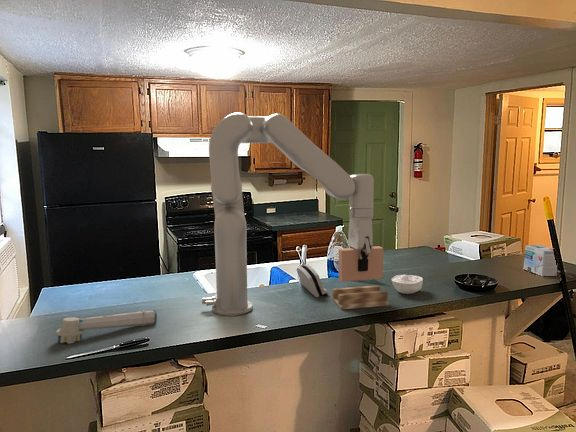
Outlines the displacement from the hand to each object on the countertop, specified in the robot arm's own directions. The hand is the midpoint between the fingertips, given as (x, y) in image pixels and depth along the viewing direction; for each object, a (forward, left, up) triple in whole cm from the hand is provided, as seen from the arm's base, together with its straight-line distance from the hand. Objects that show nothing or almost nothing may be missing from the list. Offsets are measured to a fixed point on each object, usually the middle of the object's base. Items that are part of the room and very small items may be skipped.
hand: (360, 269), depth 140 cm
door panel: (0, 0, -3) cm, 3 cm away
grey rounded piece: (-12, +16, -12) cm, 23 cm away
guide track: (0, 0, -11) cm, 11 cm away
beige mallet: (-76, -7, -12) cm, 77 cm away
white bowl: (+20, +6, -11) cm, 24 cm away
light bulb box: (+83, +16, -11) cm, 85 cm away
